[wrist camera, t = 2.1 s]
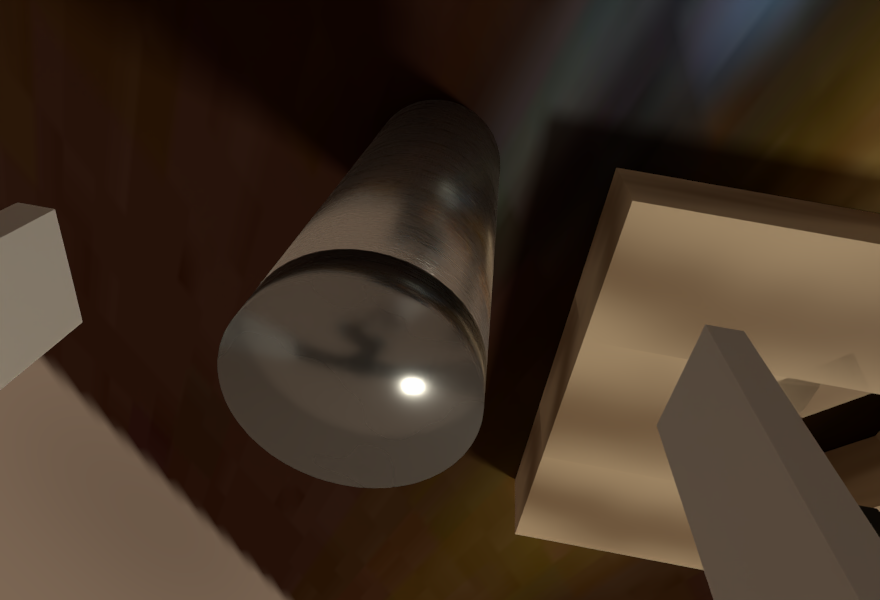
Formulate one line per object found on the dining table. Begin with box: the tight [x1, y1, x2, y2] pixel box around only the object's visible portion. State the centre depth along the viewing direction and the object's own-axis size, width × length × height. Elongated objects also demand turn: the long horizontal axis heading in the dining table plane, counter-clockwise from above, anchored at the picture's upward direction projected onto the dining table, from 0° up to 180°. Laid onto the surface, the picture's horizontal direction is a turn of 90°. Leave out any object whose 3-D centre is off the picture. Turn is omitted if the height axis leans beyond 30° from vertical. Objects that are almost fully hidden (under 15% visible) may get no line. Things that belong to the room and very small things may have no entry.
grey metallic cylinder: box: [218, 99, 500, 488], centre depth 14 cm, size 4×4×12 cm
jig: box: [515, 168, 880, 570], centre depth 21 cm, size 16×18×3 cm
